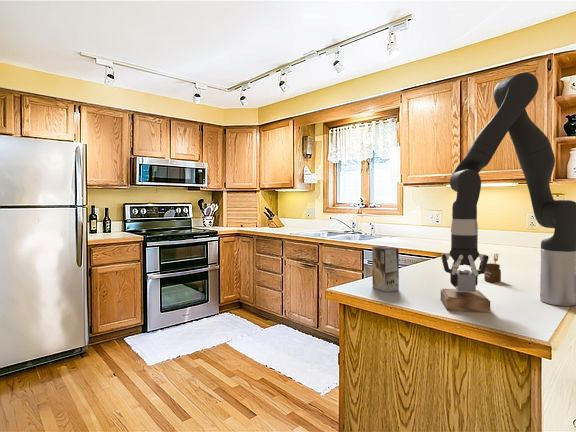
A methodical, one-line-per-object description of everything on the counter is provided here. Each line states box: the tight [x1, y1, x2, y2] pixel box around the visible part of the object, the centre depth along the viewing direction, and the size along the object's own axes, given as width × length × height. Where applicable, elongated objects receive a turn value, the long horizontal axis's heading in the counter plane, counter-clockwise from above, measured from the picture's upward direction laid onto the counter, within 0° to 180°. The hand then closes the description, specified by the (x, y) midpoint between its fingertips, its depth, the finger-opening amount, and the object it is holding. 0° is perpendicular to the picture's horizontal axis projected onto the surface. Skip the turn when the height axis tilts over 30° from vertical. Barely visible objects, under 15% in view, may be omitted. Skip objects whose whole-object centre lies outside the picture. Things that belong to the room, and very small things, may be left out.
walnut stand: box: [440, 288, 491, 314], centre depth 113 cm, size 12×12×4 cm
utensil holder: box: [483, 253, 502, 284], centre depth 146 cm, size 6×6×12 cm
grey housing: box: [453, 269, 477, 292], centre depth 113 cm, size 8×5×6 cm, turn 166°
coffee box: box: [371, 245, 400, 293], centre depth 136 cm, size 9×6×16 cm
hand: (463, 286), depth 113 cm, fingers closed on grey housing, 5 cm apart
